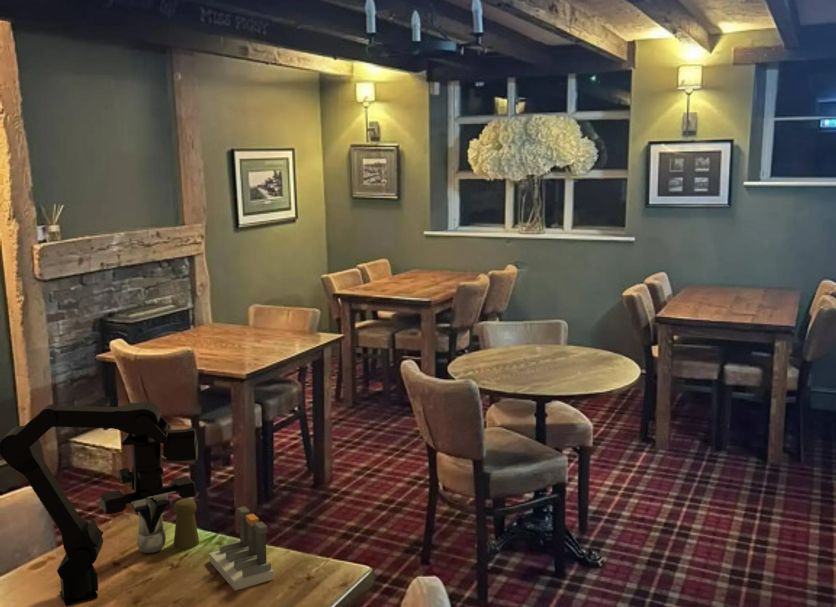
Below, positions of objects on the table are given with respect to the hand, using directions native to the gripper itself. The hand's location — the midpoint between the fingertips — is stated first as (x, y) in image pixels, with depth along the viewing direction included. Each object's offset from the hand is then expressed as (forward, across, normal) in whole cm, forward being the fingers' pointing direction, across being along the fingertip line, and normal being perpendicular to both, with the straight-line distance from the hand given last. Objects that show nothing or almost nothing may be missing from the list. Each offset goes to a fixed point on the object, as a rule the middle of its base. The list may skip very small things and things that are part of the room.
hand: (150, 532), depth 171 cm
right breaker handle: (+11, -22, +7) cm, 25 cm away
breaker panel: (+13, -19, +2) cm, 23 cm away
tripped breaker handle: (+11, -22, +2) cm, 25 cm away
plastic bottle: (+13, -5, -19) cm, 24 cm away
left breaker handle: (+11, -22, -3) cm, 25 cm away
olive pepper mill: (+13, -13, -18) cm, 26 cm away
